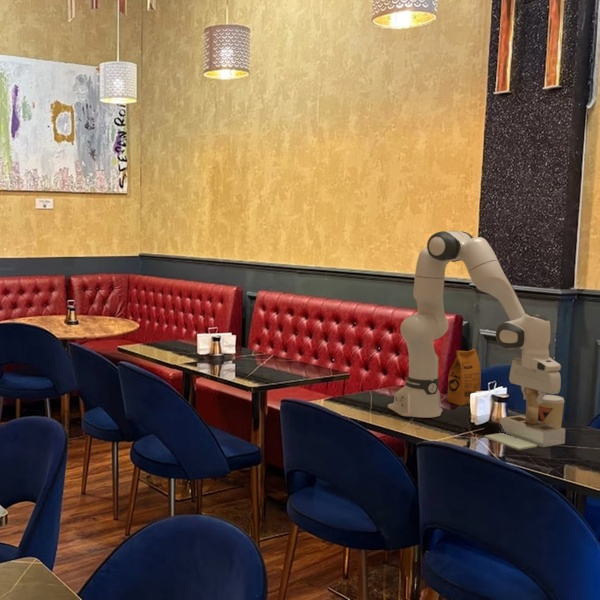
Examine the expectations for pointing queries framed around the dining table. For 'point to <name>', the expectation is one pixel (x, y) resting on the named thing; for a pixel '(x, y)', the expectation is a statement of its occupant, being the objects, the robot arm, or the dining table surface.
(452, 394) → the coffee package
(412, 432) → the dining table surface
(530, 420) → the plug
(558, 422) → the coffee cup
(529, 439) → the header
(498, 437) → the mat
